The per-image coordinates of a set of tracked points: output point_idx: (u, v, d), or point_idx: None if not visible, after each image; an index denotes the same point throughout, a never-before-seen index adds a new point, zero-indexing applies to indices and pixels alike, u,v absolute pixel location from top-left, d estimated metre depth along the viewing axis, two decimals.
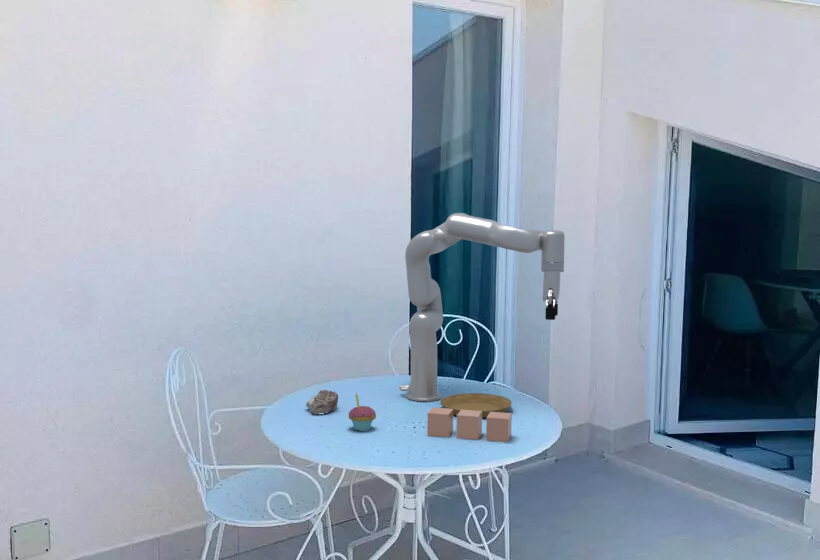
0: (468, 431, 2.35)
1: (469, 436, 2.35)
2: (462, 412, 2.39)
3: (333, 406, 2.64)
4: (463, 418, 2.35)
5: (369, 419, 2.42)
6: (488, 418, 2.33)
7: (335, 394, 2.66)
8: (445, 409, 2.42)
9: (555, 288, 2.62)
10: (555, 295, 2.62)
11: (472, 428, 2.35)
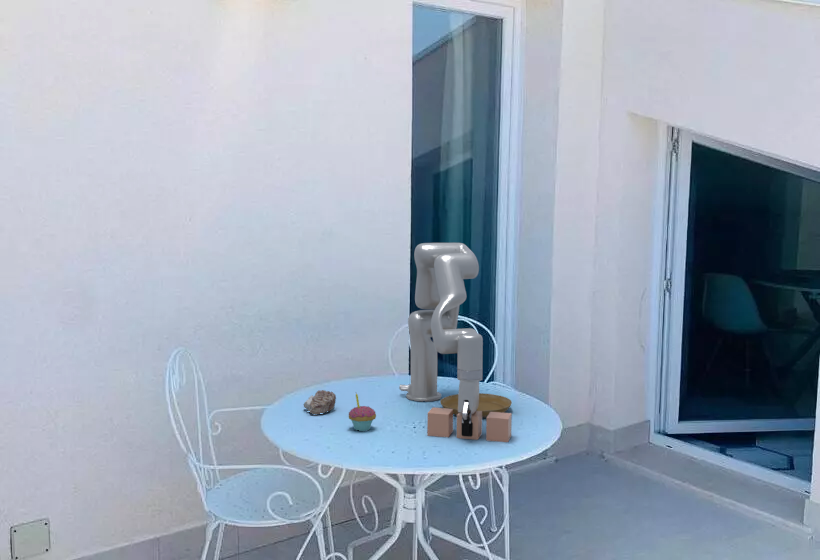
0: None
1: (469, 436, 2.35)
2: (462, 412, 2.39)
3: (331, 406, 2.64)
4: None
5: (369, 419, 2.42)
6: (488, 418, 2.33)
7: (333, 394, 2.66)
8: (445, 409, 2.42)
9: (471, 400, 2.32)
10: (471, 408, 2.33)
11: None
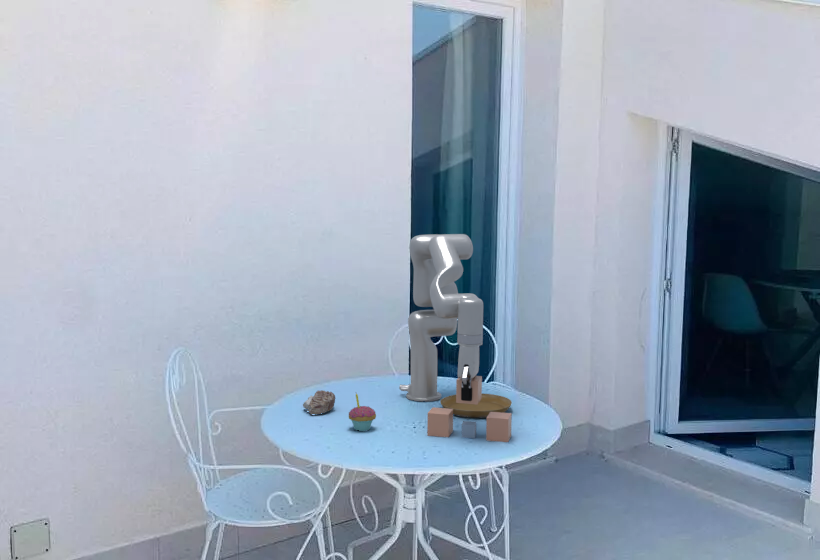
0: None
1: (469, 401, 2.35)
2: None
3: (330, 406, 2.64)
4: None
5: (369, 419, 2.42)
6: (488, 418, 2.33)
7: (332, 394, 2.66)
8: (445, 409, 2.42)
9: (471, 364, 2.32)
10: (471, 372, 2.32)
11: (472, 393, 2.34)
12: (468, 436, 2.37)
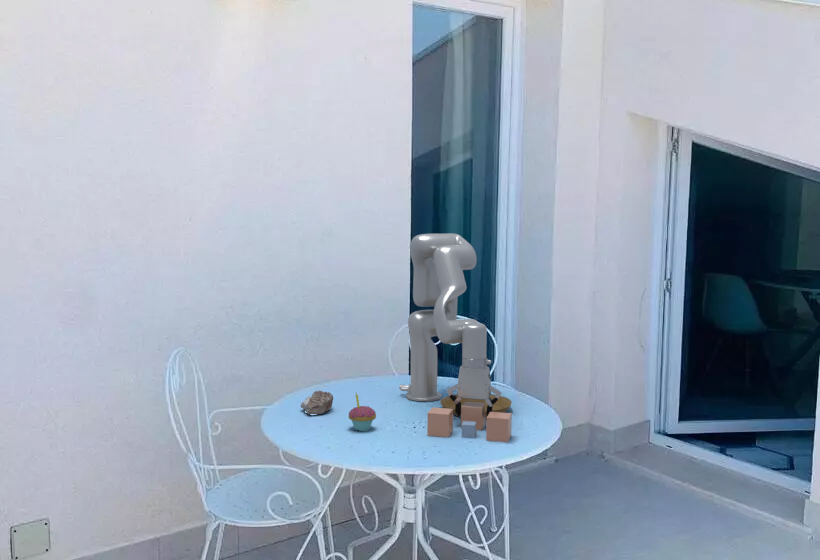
0: None
1: None
2: (475, 403, 2.49)
3: (328, 407, 2.63)
4: None
5: (369, 419, 2.42)
6: (488, 418, 2.33)
7: (330, 395, 2.65)
8: (445, 409, 2.42)
9: None
10: (457, 391, 2.47)
11: None
12: (468, 436, 2.37)
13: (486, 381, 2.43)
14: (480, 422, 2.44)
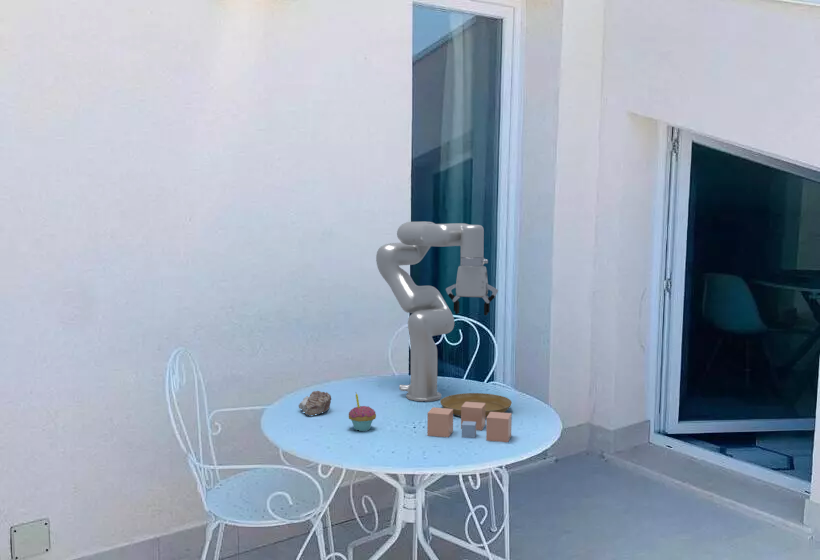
0: None
1: None
2: (475, 403, 2.49)
3: (326, 407, 2.63)
4: None
5: (369, 419, 2.42)
6: (488, 418, 2.33)
7: (328, 395, 2.65)
8: (445, 409, 2.42)
9: (456, 282, 2.59)
10: (456, 289, 2.59)
11: None
12: (468, 436, 2.37)
13: (483, 279, 2.56)
14: (480, 422, 2.44)
